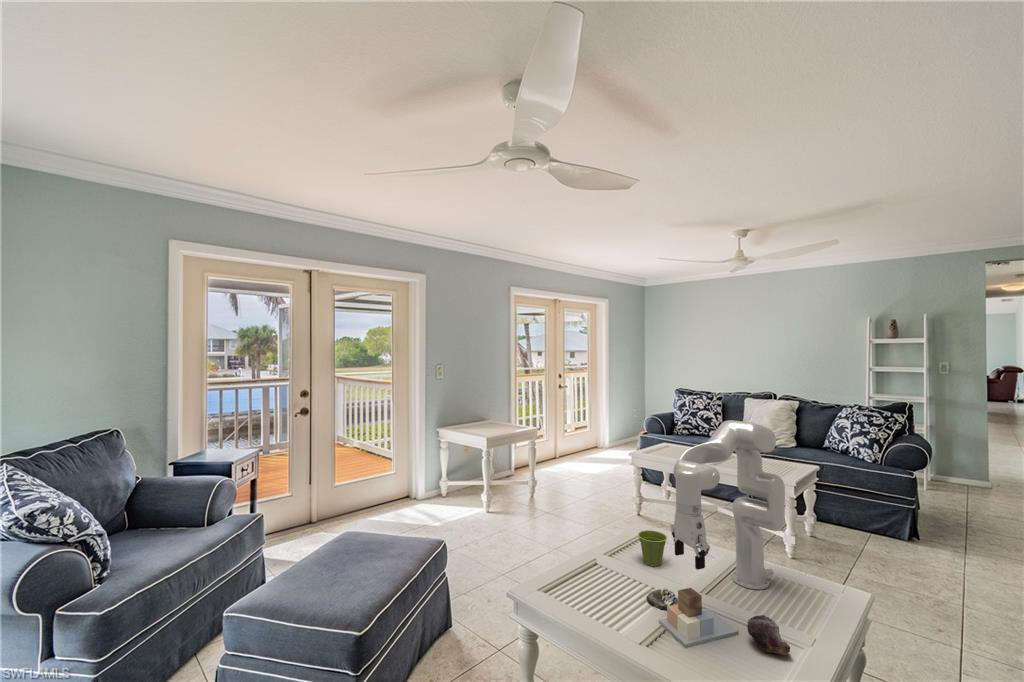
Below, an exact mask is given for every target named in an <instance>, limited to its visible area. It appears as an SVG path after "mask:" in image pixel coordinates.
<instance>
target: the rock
mask: <svg viewBox="0 0 1024 682" xmlns="http://www.w3.org/2000/svg"><path fill="white" fill-rule="evenodd" d="M746 625H747V627H746V628H747V632H748V634H749V636H751V638H752V639H753V640H754V641H753V642H754V643H755V645H756V646H758V647H759V649H761V650H763V651H765V652H767V653H774V654H779V655H780V656H781V655H782V656H784V655H787V654H788V653H791V646H790V645H789V643H787V641H783V640H782V636H781V634H780V627H779V625H778V623H777V622H776V621H775V620H773V619H771V618H770V617H769V616H765V614H760V615H754V616H752V617H750V618H749V619H748V620H747V624H746Z"/></svg>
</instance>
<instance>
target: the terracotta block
mask: <svg viewBox="0 0 1024 682" xmlns="http://www.w3.org/2000/svg"><path fill="white" fill-rule="evenodd" d="M679 614H684V613H682V612H681V611H680V610H679V609H678V604H676V605H672V606H667V611H666V616H667V617H666V618H667V622H669V623H670V624H671V625H672V626H673V627H674V628H675V629H676V630H677V615H679Z"/></svg>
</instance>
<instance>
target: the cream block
mask: <svg viewBox="0 0 1024 682" xmlns="http://www.w3.org/2000/svg"><path fill="white" fill-rule="evenodd" d="M677 631H678V632H680V633H681V634H682V635H683V636H684V637H685V638H686V639H687V640H688V639H692V638H696V637H700V620H699V619H698V618H696V617H695V616H694V617H690V618H688V617H687V616H686V615H685V614H679V615H677Z"/></svg>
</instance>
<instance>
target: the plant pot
mask: <svg viewBox="0 0 1024 682" xmlns="http://www.w3.org/2000/svg"><path fill="white" fill-rule="evenodd" d="M637 536H638V538H639V542H640V546H641V553H642V560H643V563H644V564H645V565H647V566H650V567H659V566H661V565H662V564H663V558H664V551H665V545H666V542H667V540H668V536H667V535H666V534H665V533H663V532H661V531H657V530H650V529H649V530H640V531H639V532H638V533H637Z"/></svg>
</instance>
